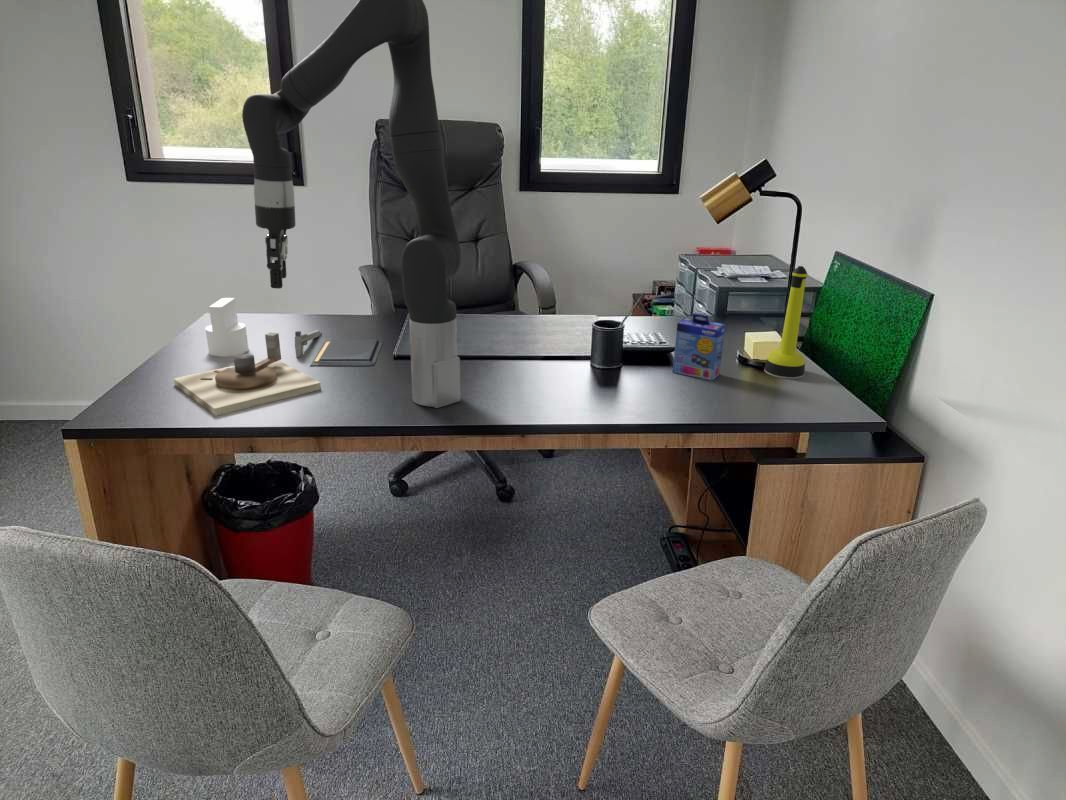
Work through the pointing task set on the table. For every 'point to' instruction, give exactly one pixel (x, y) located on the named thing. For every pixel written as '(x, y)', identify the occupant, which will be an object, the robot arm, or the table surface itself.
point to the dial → (252, 368)
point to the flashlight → (790, 334)
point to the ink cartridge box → (698, 347)
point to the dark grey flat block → (348, 353)
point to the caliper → (304, 340)
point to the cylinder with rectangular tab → (226, 330)
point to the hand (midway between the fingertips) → (278, 282)
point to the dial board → (236, 399)
